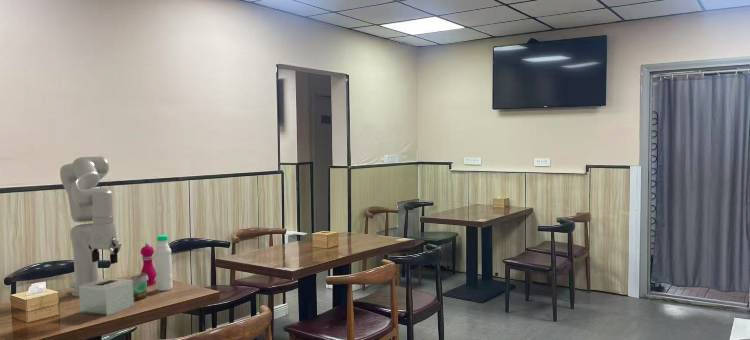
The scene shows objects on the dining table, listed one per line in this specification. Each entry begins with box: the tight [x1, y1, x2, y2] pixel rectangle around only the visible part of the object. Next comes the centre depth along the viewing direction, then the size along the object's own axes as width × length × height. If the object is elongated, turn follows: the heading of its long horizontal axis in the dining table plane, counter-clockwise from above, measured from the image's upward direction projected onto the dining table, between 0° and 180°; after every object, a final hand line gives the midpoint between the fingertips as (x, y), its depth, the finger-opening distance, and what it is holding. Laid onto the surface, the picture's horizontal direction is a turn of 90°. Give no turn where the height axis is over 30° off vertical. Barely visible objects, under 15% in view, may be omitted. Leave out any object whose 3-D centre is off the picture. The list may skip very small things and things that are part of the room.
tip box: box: [79, 277, 135, 317], centre depth 234 cm, size 14×14×11 cm
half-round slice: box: [127, 272, 149, 302], centre depth 249 cm, size 12×6×10 cm, turn 168°
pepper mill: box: [139, 242, 157, 287], centre depth 275 cm, size 7×7×20 cm
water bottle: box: [154, 234, 174, 292], centre depth 264 cm, size 7×7×25 cm
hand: (104, 262), depth 233 cm, fingers open, 9 cm apart
